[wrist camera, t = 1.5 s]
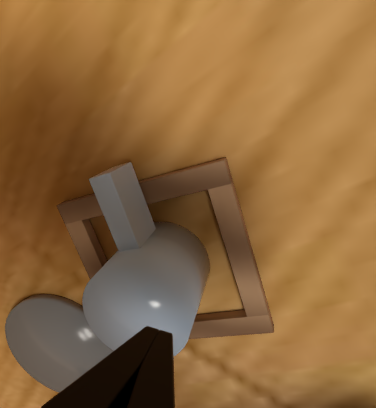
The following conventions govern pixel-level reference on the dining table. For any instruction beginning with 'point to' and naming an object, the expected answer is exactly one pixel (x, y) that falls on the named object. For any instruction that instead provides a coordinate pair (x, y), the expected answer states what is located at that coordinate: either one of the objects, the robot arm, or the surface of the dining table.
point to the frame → (230, 229)
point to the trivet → (53, 340)
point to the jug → (143, 268)
